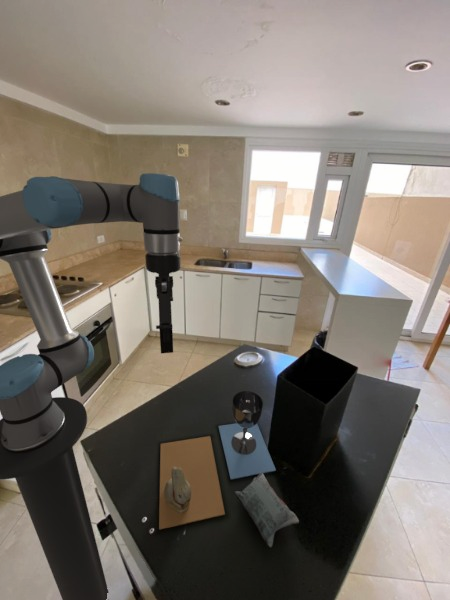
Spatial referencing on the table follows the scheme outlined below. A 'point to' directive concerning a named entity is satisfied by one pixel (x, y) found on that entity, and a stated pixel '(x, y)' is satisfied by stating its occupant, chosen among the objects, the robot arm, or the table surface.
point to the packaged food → (265, 508)
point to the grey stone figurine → (178, 491)
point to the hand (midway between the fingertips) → (166, 337)
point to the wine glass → (246, 420)
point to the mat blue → (245, 463)
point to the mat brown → (190, 481)
